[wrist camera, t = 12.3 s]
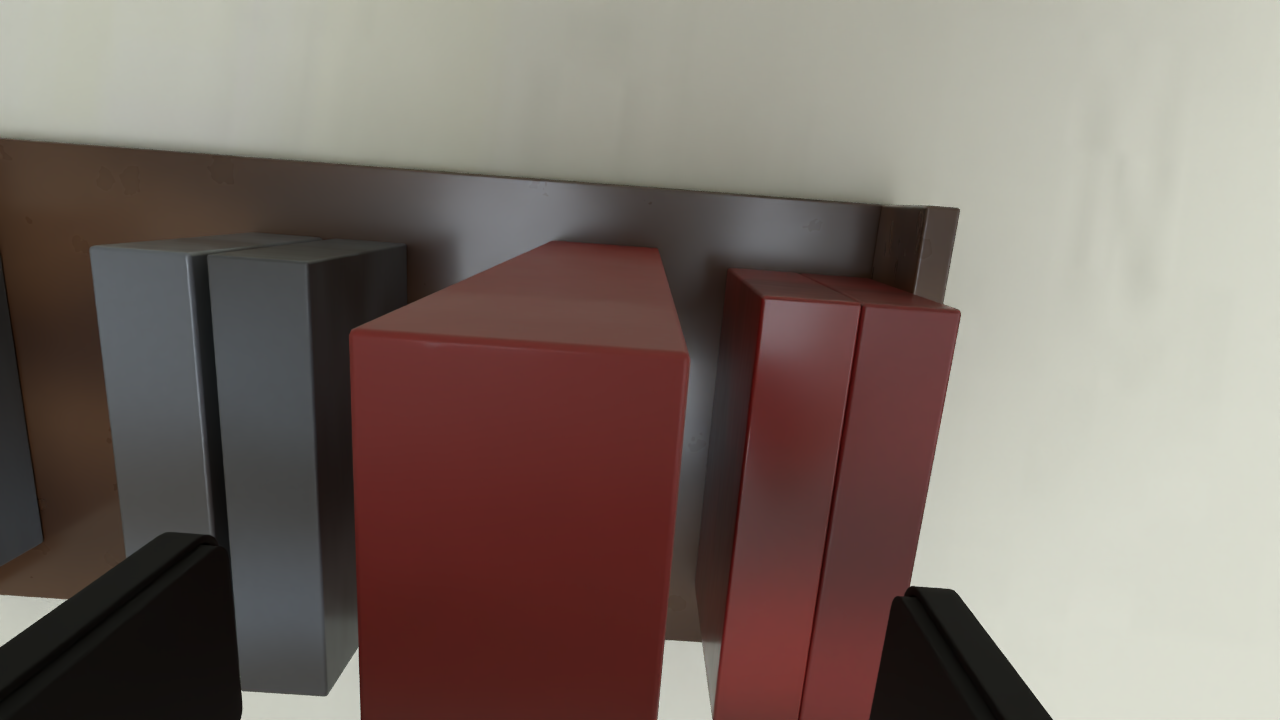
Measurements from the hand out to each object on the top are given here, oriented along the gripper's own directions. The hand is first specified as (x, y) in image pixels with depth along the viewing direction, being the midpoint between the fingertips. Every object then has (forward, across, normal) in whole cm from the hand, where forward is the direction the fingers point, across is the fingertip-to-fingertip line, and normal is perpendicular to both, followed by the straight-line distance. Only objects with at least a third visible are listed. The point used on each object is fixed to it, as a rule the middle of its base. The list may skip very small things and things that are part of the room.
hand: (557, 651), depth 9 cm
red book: (+10, 0, +1) cm, 11 cm away
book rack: (+12, +6, +1) cm, 13 cm away
